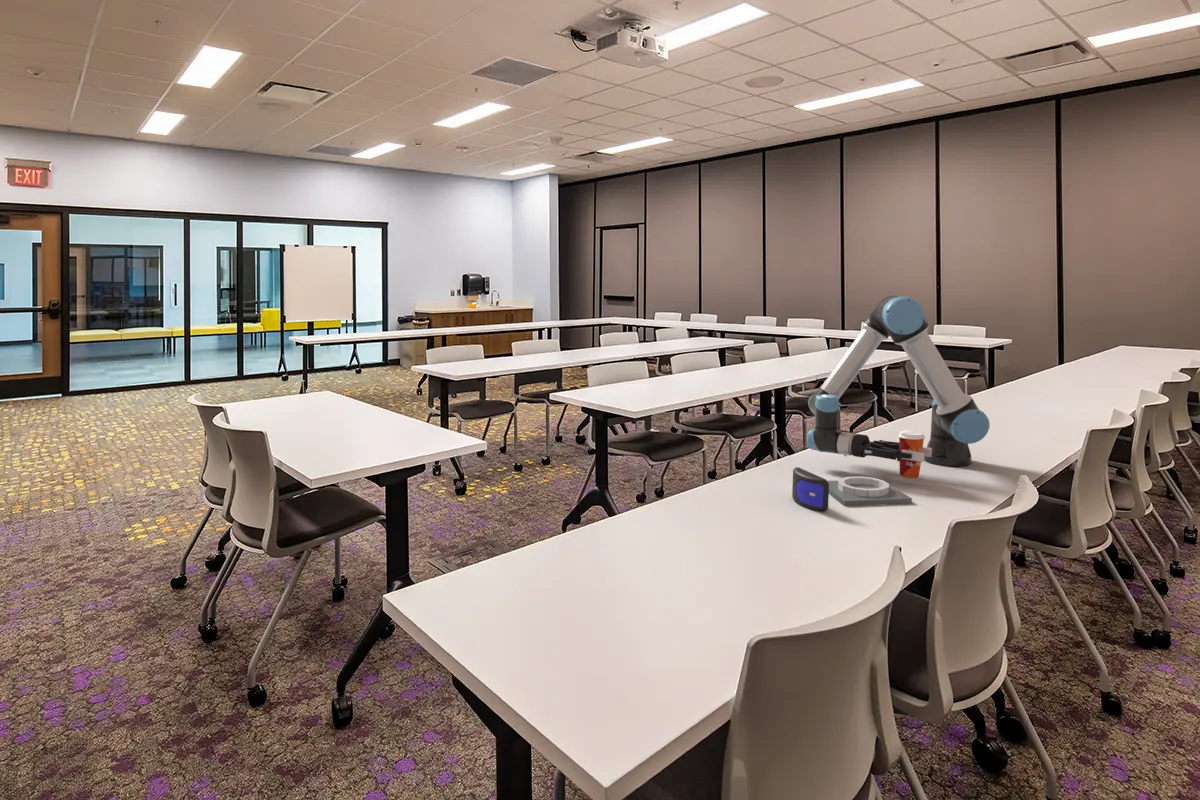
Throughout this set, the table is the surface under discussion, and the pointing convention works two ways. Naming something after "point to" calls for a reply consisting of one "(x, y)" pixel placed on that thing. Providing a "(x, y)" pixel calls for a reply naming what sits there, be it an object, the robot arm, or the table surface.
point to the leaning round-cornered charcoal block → (810, 490)
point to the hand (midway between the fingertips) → (927, 454)
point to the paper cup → (910, 443)
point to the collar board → (867, 500)
